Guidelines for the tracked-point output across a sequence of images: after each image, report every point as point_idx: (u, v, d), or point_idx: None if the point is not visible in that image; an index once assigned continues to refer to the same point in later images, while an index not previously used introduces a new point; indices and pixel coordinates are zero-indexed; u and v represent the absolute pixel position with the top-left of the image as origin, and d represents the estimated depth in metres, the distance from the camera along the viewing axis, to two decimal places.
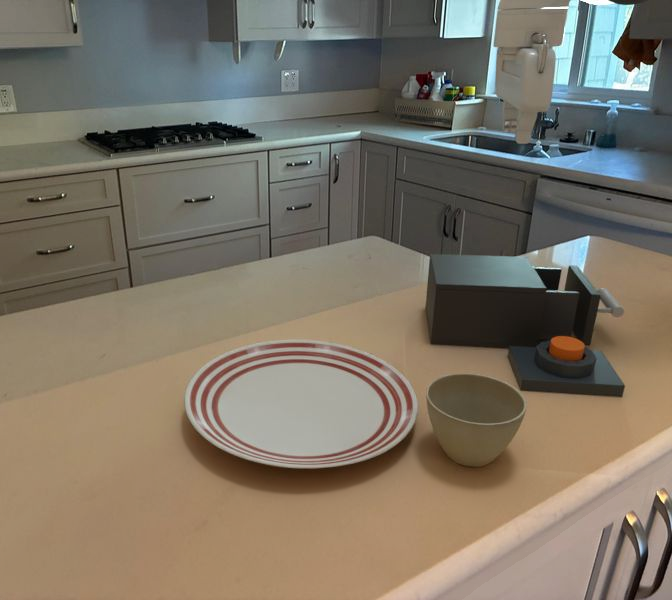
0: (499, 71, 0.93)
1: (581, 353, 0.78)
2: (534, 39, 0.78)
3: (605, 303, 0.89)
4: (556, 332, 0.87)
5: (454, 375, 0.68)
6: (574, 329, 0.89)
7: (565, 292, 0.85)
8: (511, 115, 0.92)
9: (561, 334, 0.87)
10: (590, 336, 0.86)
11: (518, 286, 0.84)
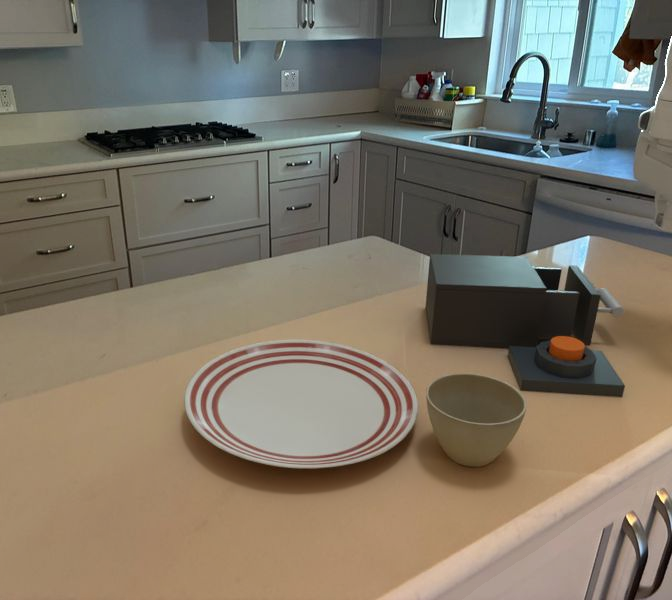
0: (641, 154, 0.88)
1: (581, 353, 0.78)
2: None
3: (605, 303, 0.89)
4: (556, 332, 0.87)
5: (454, 375, 0.68)
6: (574, 329, 0.89)
7: (565, 292, 0.85)
8: (666, 209, 0.84)
9: (561, 334, 0.87)
10: (590, 336, 0.86)
11: (518, 286, 0.84)
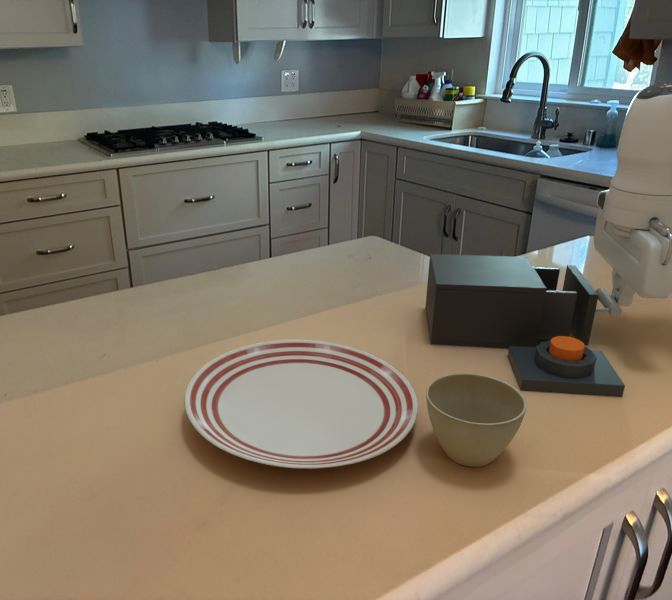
0: (600, 229, 0.93)
1: (581, 353, 0.78)
2: (655, 227, 0.78)
3: (603, 303, 0.89)
4: (554, 332, 0.87)
5: (454, 375, 0.68)
6: (572, 329, 0.90)
7: (563, 292, 0.85)
8: (622, 283, 0.89)
9: (559, 334, 0.87)
10: (588, 336, 0.86)
11: (518, 286, 0.84)
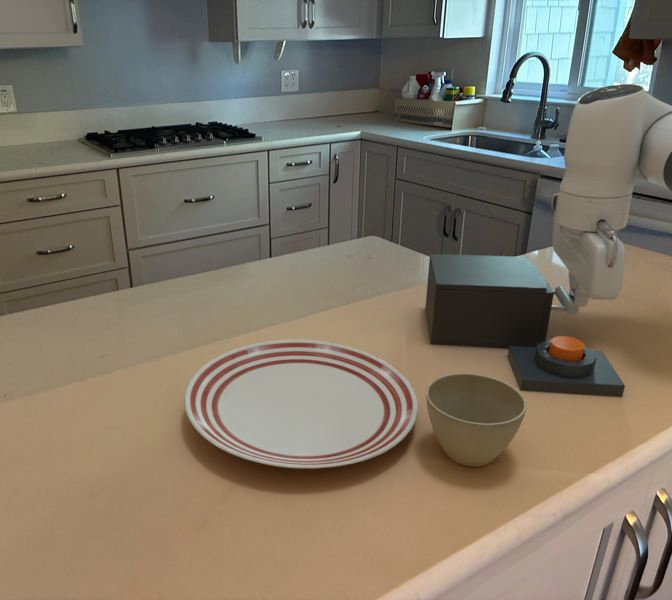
0: (557, 230, 0.94)
1: (581, 353, 0.78)
2: (601, 229, 0.79)
3: (561, 301, 0.90)
4: None
5: (454, 375, 0.68)
6: None
7: None
8: None
9: None
10: (545, 334, 0.87)
11: (518, 286, 0.84)
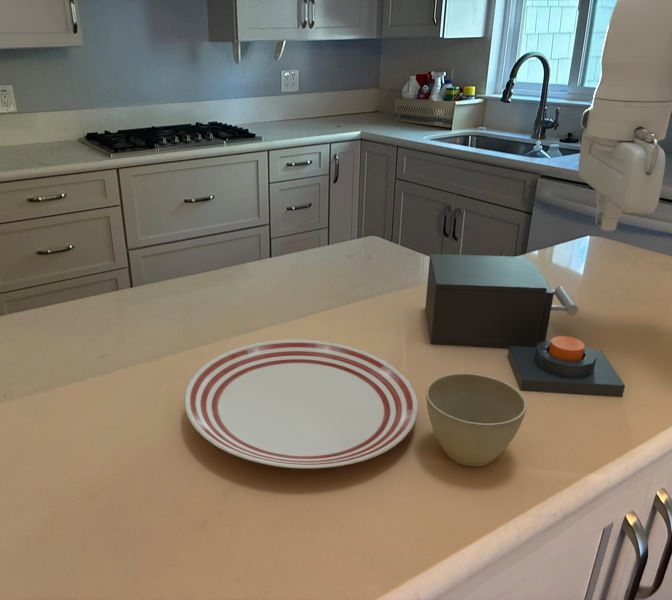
0: (585, 153, 0.87)
1: (581, 353, 0.78)
2: (640, 135, 0.72)
3: (561, 301, 0.90)
4: None
5: (454, 375, 0.68)
6: None
7: None
8: None
9: None
10: (545, 334, 0.87)
11: (518, 286, 0.84)
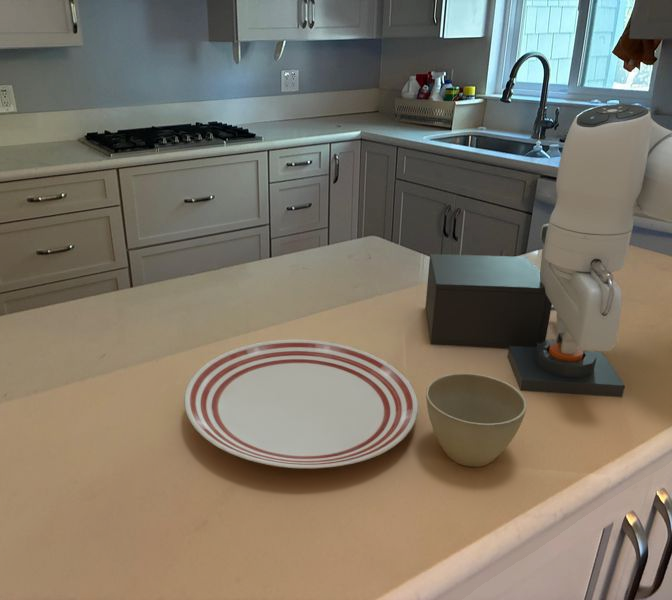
0: (545, 265, 0.83)
1: (580, 359, 0.78)
2: (595, 270, 0.68)
3: None
4: None
5: (454, 375, 0.68)
6: None
7: None
8: None
9: None
10: (545, 334, 0.87)
11: (518, 286, 0.84)
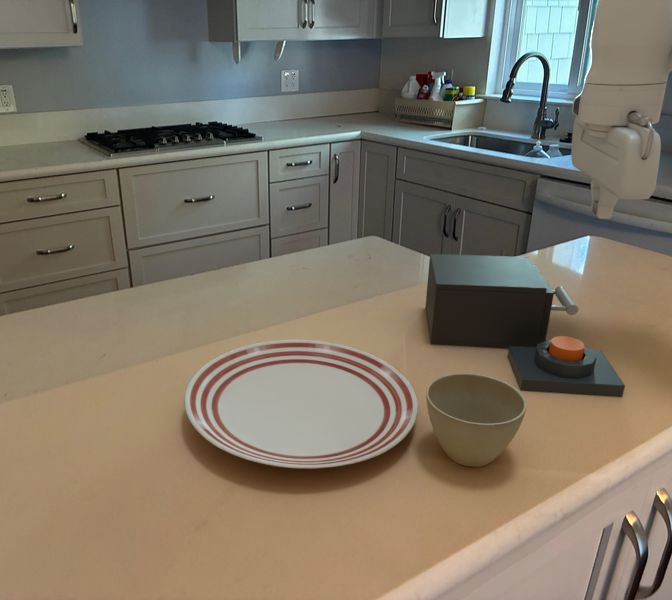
0: (577, 140, 0.85)
1: (581, 353, 0.78)
2: (633, 119, 0.70)
3: (561, 301, 0.90)
4: None
5: (454, 375, 0.68)
6: None
7: None
8: None
9: None
10: (545, 334, 0.87)
11: (518, 286, 0.84)
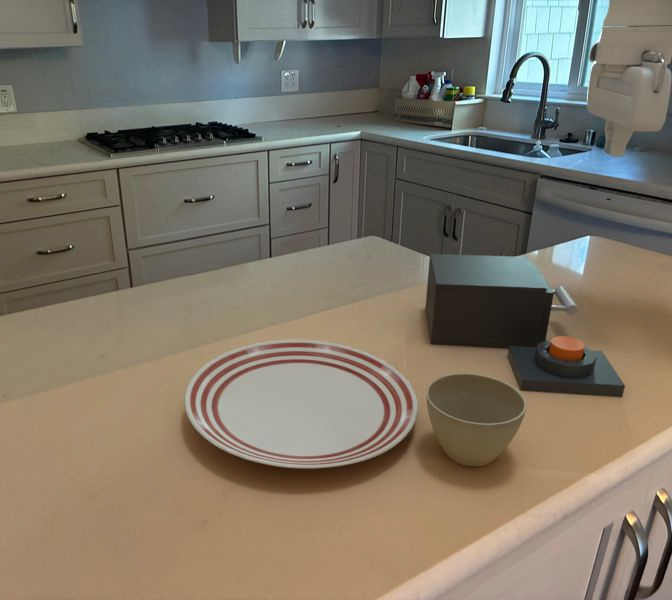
0: (593, 87, 0.92)
1: (581, 353, 0.78)
2: (647, 57, 0.77)
3: (561, 301, 0.90)
4: None
5: (454, 375, 0.68)
6: None
7: None
8: None
9: None
10: (545, 334, 0.87)
11: (518, 286, 0.84)
